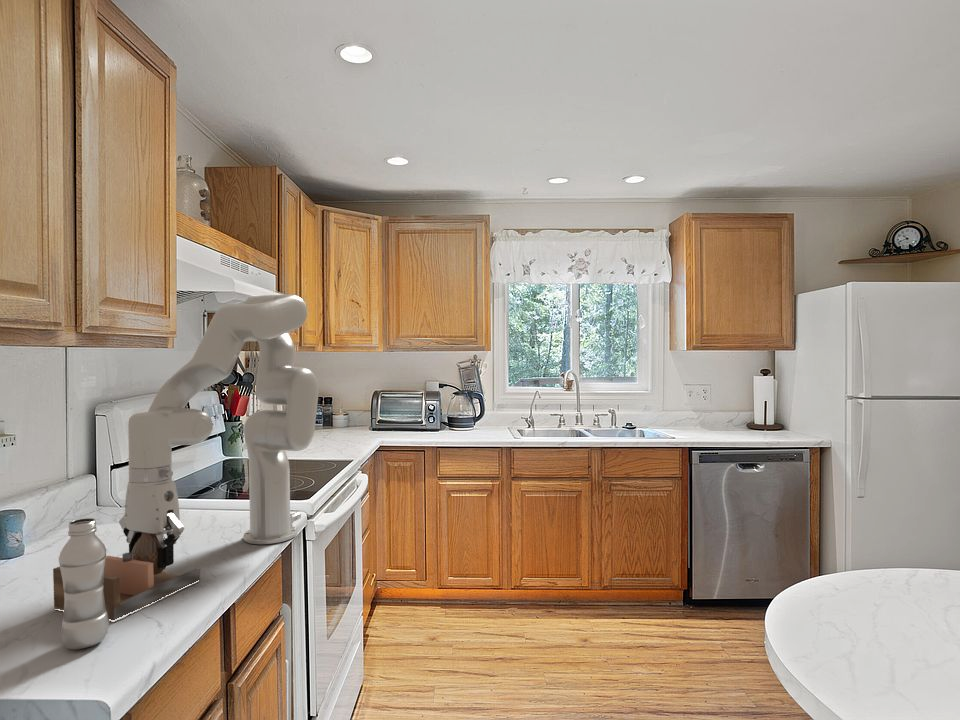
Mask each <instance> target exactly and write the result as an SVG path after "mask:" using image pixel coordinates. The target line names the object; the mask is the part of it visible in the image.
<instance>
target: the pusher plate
mask: <svg viewBox="0 0 960 720" xmlns="http://www.w3.org/2000/svg"><path fill="white" fill-rule="evenodd" d="M104 574H105V575H111V576H116V577H119V578H120V593H122V594H128V595H133V596H135V595H137V594H139V593H141V592H144V591H146V590H148V589H150V588H153V587H154V573H153V563H151V562H144V561H138V560H132V553H129V552H125V553H122V557H120V556H119V557H118V556H112V555H106V560H105V568H104Z"/></svg>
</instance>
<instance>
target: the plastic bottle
mask: <svg viewBox="0 0 960 720" xmlns="http://www.w3.org/2000/svg"><path fill="white" fill-rule="evenodd" d="M96 523H97V522H96V518H93V517H85V518H84V517H83V518H79V519H75V520H72V521H70V522H68V531H67V535H68V536H69V537H70V538H69V539H68V540H67V542H66V543H65V544H64V545H63V547H62V549H61V551H60V552H59V555H58V563H59V564H58V565H59V567H60V570H61V575H62V579H63V588H64V599H65V600H64V612H63V619H62V623H61V628H60V638H61V641H62V644H63V646H65V647H66V648H67V649H69V650H83V649H87V648H90V647H92V646H93V647H94V646H96V645H97V644H99V643H101V642H102V641H103V640H104V639H105V638H106V636H107V634H108V633H109V627H110V622H109V619H108V614H107V611H106V607H105V600H104V592H103V587H104V585H103V583H104V568H105V560H106V556H107V548H106V546H105V543H104V542H103V541H102V540H101V539H100V538H99V537H98V536H97V535H96V532H97V530H98V529H97V526H96V525H97V524H96Z"/></svg>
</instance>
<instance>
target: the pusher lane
mask: <svg viewBox="0 0 960 720" xmlns="http://www.w3.org/2000/svg"><path fill="white" fill-rule="evenodd" d="M198 580H200V581H201V569H200V568H193V569H191V570H189V571H186V572H184V573H182V574H173V573H168V572H167V573H166V572H163V571H162V572H161V573H159V574H157V575H154V587H153V588H150V589H148V590H146V591H144V592H141V593H139V594H137V595H135V596H133V595H128V594H122V593H120V578H119V577H116V576H111V575H105V574H104V583H103V585H104V587H103V592H104V600H105V607H106V611H107V614H108V619H111V620H115V619H117V618H119V617H122V616H123V615H126V614H128V613H130V612H133V611H135V610H137V609H140V608H142V607H144V606H146V605H148V604H151V603H152V602H155V601H157V600H159V599H161V598H162V597H165V596H166V595H169V594H171V593H173V592H175V591H177V590H179V589H181V588H183V587H185V586H187V585H189V584H192V583H194V582H196V581H198ZM52 581H53V610H54V609H60V610H64V600H65V599H64V588H63V579H62V575H61V570H60V566H57V567H54V568H52Z"/></svg>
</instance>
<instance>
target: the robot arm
mask: <svg viewBox="0 0 960 720" xmlns="http://www.w3.org/2000/svg"><path fill="white" fill-rule="evenodd" d="M307 317H308V307H307V304H306V302H305V301H304V299H302V298H301V297H300V296H298V295H295V294H291V293H290V294H289V293H288V294H269V295H268V294H266V295H256V296H252V297H249V298H247V299H246V300H245V301H244V302H243V304H229V305H224V306H222V307H219V308H218V309H217V310H216V311H215V313H214V314H213V316H212V318H211V320H210V323H209V324H208V326H207V328H206V329H205V332H204V334H203V337H202V338H201V340H200V343H199V344H198V346H197V348H196V350H195V352H194V354H193V356H192V358H191V359H190V360H189V361H188V362H187V363H186V364H184V365H183V366H182V367H181V368H180V369H179V370H177V371H176V372H175V373H174V374H173V375H172V376H171V377H170V378H168V379H167V380H166V381H165V383H164V384H163V385H162V386H161V388H159V390H158V392H157V393H156V395H155V397H154V399H153V401H152V403H151V405H150V407H149V408H148V411H147V412H146V411H145V412H139V413H134V414H131V416H129V419H128V422H127V423H128V427H127V428H128V430H127V431H128V434H127V435H128V483H127V486H126V491H125V492H126V494H125V502H124V515H123V516H122V517H121V518H120V519H119V520H118V522H119V523H118V524H119V525H120V527H121V529H122V530H123V531H122V532H123V534H124V536H125V537H126V539H125V540H126V543H127V544H128V553H132V549H133V547H134V545H135V543H136V542H137V540H138V539H139V538H140V537H141V535H142V533H149V534H156V536H157V538H158V541H159V544H160V546H161V547H160V548H158V568H164V567H166V566H167V567H169V566H171V565H173V564H174V560H175V559H174V557H175V556H174V555H175V553H174V550H175V549H174V545H175V544H177V541H178V540H179V538H180V536H181V535H182V533H183V532H184V531H185V526H184V525H183V524H182V523H181V521H180V519H181V518H180V505H179V504H180V503H179V495H178V490H177V486H176V482H175V480H173V475H174V472H173V470H172V469H173V468H172V467H173V466H172V464H173V462H172V461H173V460H172V459H173V458H172V455H173V453H172V447H173V446H194V445H197V444H201V443H202V442H204V441H206V440H207V439H208V438H209V436H211V434H212V432H213V430H214V429H213V427H214V425H213V420H212V418H211V416H210V415H209V414H208V413H207V412H206V411H203V410H202V409H197V408H187V407H186V406H187V405H188V403H189V402H190V401H191V399H192V398H193V397H195V396H196V395H197V394H198V393H200V392H201V391H203V390H205V389H207V388H209V387H211V386H213V385H215V384H218V383H220V382H221V381H224V380H225V379H226V378H228V377H229V376H230V375H231V374H232V371H233V370H234V367H235V365H236V362H237V360H238V358H239V356H240V354H241V352H242V349H243V347H244V346H245V343H246V342H258V345H259V346H258V347H259V354H258V355H259V356H258V365H257V372H256V380H255V396H256V398H257V400H258V401H259V402H260V403H263V404H267V405H270V406H271V405H273V406H286V410H277V409H276V410H275V409H274V410H272V409H271V410H270V409H264V410H263V409H262V410H258V411H255V412H253V413H251V414H250V415H249V416H248V418H247V419H246V421H245V423H244V426H243V437H244V441H245V445H246V446H245V447H246V449H247V456H248V481H249V483H248V484H249V486H248V488H249V490H248V491H249V494H248V496H249V530H247V531H246V532H244V533H243V536H242V537H243V540H244V542H245V543H248V544H253V545H270V544H271V545H272V544H278V543H282V542H283V543H284V542H286V541H289V540H292V539H293V538H295V537H296V536H297V534H298V530H297V528H296V527H295V526H293V523H295V521H298V520H301V518H302V517H301V516H302V514H301V513H300V512H298V511H297V512H294V513H291V482H290V480H291V479H290V478H291V476H290V474H291V473H290V472H291V471H290V462H289V458H288V455H287V454H286V452H287V451H288V452H289V451H290V452H300V451H303V450H305V449H307V448H308V447H309V446H310V445H311V443H312V441H313V438H314V436H315V428H316V421H317V412H318V404H319V403H318V402H319V390H320V389H319V383H318V379H317V377H316V375H315V374H314V372H313V371H312V370H311V369H309V368H306V367H299V366H297V367H296V366H295V354H296V350H295V349H296V348H295V344H294V340H293V339H292V337H291V335H290V333H291V332H294V331H296V330H298V329H300V328H301V327H303V325H304V324H305V322H306V320H307ZM164 535H166V536H167V537H165V536H164ZM165 538H166V539H165ZM167 567H166V568H167Z"/></svg>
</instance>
